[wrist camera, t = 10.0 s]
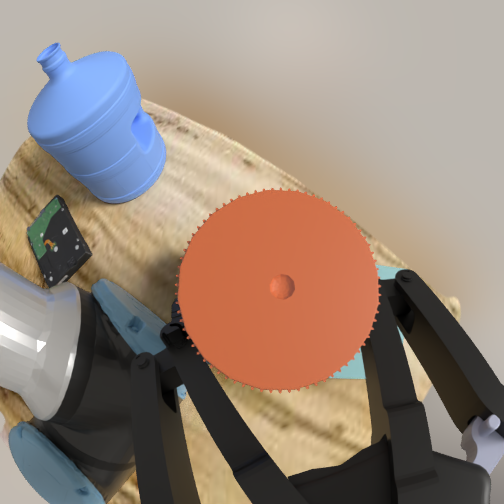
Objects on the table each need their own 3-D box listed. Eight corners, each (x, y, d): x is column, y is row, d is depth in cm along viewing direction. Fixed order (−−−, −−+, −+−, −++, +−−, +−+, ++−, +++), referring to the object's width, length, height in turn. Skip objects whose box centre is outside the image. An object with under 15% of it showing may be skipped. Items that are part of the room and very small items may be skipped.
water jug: (118, 223, 42) (4, 126, 15) (78, 173, 44) (-8, 84, 17) (185, 158, 44) (134, 19, 17) (136, 119, 47) (82, 8, 20)
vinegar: (218, 338, 25) (116, 391, 6) (232, 268, 27) (179, 140, 7) (289, 351, 25) (385, 435, 5) (302, 281, 26) (415, 186, 7)
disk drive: (95, 254, 41) (64, 198, 44) (87, 250, 39) (56, 192, 41) (59, 293, 40) (32, 234, 42) (49, 291, 37) (23, 230, 39)
